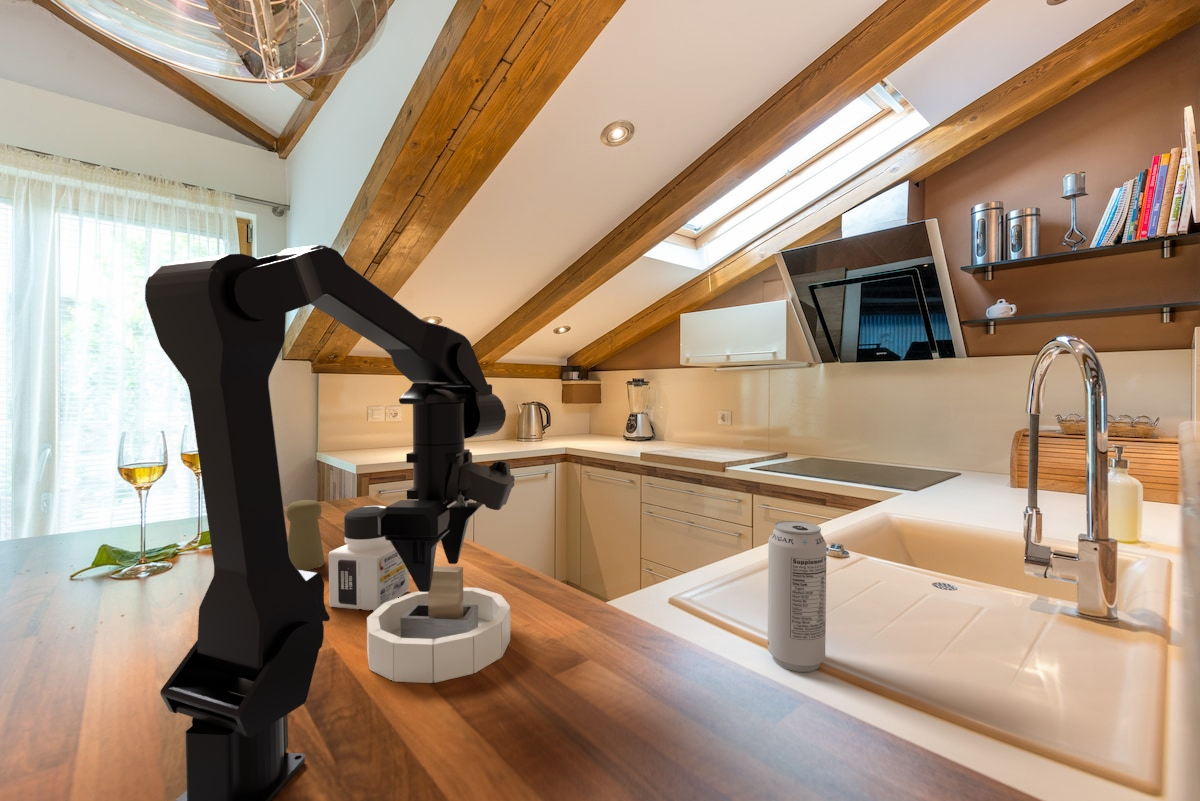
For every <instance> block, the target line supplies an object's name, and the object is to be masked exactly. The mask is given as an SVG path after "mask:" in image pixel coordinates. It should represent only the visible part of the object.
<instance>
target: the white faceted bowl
mask: <svg viewBox="0 0 1200 801" xmlns="http://www.w3.org/2000/svg"><path fill="white" fill-rule="evenodd" d="M415 603H428V592H420V591H419V590H418V591H413V592H409V593H407V594H403V595H401V596H400V597H399V598H396V599H393V600H391V601H388V602H385V603H383V604H382V605H381V606H380V607H379V608H377V609H376V610H375V611H372V613H371V614H369V615H368V616H367V617H366V648H367V649H366V653H367V662H368V668H369V671H371V672H373V673H375V674H377V675H379V676H381V677H383V678H386V679H387V680H390V681H391V680H392V682H394V683H395V682H396V683H397V682H398V683H421V684H422V683H424V684H433V683H440V682H444V681H448V680H452V679H457V678H461V677H466V676H469V675H473V674H476V673H478V672H479V671H481V670H483V669H484V668H486V667H488V666H489V665H491V664H492V663H494V662H496V661H499V659H501V658H502V657H503V656H504V655H505V652H506V649H507V647H508V645H509V644H510V642H511V605H510V604H509V603H508V602H507V601H506V599H505V598H504V597H503V595H502V594H500V593H497V592H493V591H489V590H487V589H484V588H480V587H467V586H463V605H478V628H476V629H474V630H472V631H470V632H467V633H462V634H457V635H451V636H446V637H441V638H436V639H421V638H401V622H400V618H401V617H402V616H403V615H404V614H405V613H406V612H407V611H408V610H409V609H410V608H411V607H412V606H413V605H414V604H415Z"/></svg>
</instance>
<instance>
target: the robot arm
mask: <svg viewBox="0 0 1200 801" xmlns="http://www.w3.org/2000/svg"><path fill="white" fill-rule="evenodd" d="M144 294H145V295H144V300H145V301H144V302H145V304H146V308H147V311H148V313H149V314H148V315H149V317H150V319H151V322H152V325H153V329H154V331H155V334H156V336H157V337H156V338H157V340H158V343H159V345H160V347H161V349H162V350H163V352H164V353H165V355H167V357H168V359H169V360H170V361H171V363H172V364H173V366H174V367H175V368H176V370H177V372H179V374H180V375H181V376H182V378H183V379H184V380H185V382H186V384H187V388H188V390H189V400H190V405H191V406H190V407H191V411H192V412H191V413H192V420H193V425H194V434H195V440H196V448H197V455H198V461H199V467H200V475H201V476H200V478H201V481H202V489H203V490H202V492H203V496H204V498H203V499H204V505H205V511H206V519H207V525H208V532H209V540H210V546H211V552H212V553H211V554H212V560H213V577H212V579H211V581H210V584H209V586H208V587H207V590H206V592H205V594H204V596H203V599H202V601H201V603H200V605H199V608H198V620H197V622H198V624H197V640H196V641H195V643H194V644H193V645H192V646H191V648H190V649H189V651H188V652H187V654H186V655H185V656H184V658H183V659H182V660H181V662H179V664H178V666H177V667H176V668H175V670H174V671H173V673H172V674H171V675H170V677H169V678H168V679H167V681H166V682H165V684H164V685H163V686H162V687H161V689H160V691H159V692H160V696H161V698H162V700H163V702H164V703H165V705H166V707H167V710H168V711H169V712H170V713H173V714H177V713H179V714H182V715H185V716H187V717H191V718H192V719H191V726H190V727H189V728H188V729H186V730H185V763H186V764H185V765H186V766H185V767H186V768H185V769H186V774H185V775H186V790H185V791H184V792H183V793H182V794H181V795H179V796H178V797H177V799H175V800H174V801H272V800H273V799H274V797H275V796H276V795H277V794H278V793H279V792H280V791H281V790H282V788H283V787H284V786H285V785H286V784H287V783H288V782H289V780H290V779H291V778H293V776H294V775H295V774H296V772H297V771H298V770H299V769H300V768H301V767H302V766H303V765H304V763H305V762H306V754H305V753H302V752H300V753H299V752H288V748H289V731H288V730H289V728H288V727H289V724H288V722H289V720H288V714H290V713H292V712H293V711H295V710H296V709H298V708H299V707H301V706H303V705H305V703H306V702H307V699H308V695H309V691H310V687H311V684H312V679H313V676H314V672H315V668H316V664H317V660H318V656H319V652H320V649H321V648H322V647H323V643H324V638H325V636H324V634H325V627H324V626H325V625H324V622H329V621H330V619H331V617H330V615H329V613H328V612H327V608H326V604H325V582H324V579H323V576H322V574H321V572H320V573H319V572H315V571H312V570H308V571H305V570H299V569H297V568H296V567H295V565H294V564H293V562H292V561H291V558H290V555H289V548H288V532H287V526H286V517H285V509H284V501H283V493H282V484H281V476H280V475H281V474H280V466H279V460H278V457H279V456H278V450H277V443H276V442H277V441H276V435H275V426H274V418H273V409H272V402H271V394H270V393H271V392H270V382H269V381H270V376H271V373H272V371H273V368H274V366H275V365H276V361H277V360H278V358H279V355H280V353H281V351H282V349H283V346H284V344H285V341H286V324H287V323H286V321H287V318H286V317H287V313H289V312H292V311H294V310H298V309H300V308H304V307H306V306H308V305H312V306H313V307H314V308H316V309H317V310H319V311H321V312H322V313H324V314H326V315H327V316H329V317H330V318H333V319H334V320H336V321H338V323H340V324H342V325H344V326H345V327H346V328H349V329H350V330H351V331H353V332H355V333H357V334H358V335H360V336H361V337H363V338H365V339H366V340H368V341H369V342H371V343H373V344H375V345H376V346H378V347H379V348H381V349H383V350H384V351H385V352H386V353H387V354H388V355H390V359H391V362H392V364H393V366H394V367H395V368H396V370H398V371H399V373H401V374H402V375H403V376H405V378H406V379H408V381H409V382H412V384H411V386H410V388H409V389H408V390H406V391H405V392H403V394H402V395H401V396H400V397H399V399H398V403H399V404H401V405H412V452H407V453H406V455H405V456H406V463H407V464H412V465H413V466H412V467H413V468H412V471H413V472H412V473H413V475H412V476H413V479H412V480H413V487H411V488H409V489H406V499H400V500H398V501H396V502H394V503H392V504H390V505H387V506H385V507H386V508H385V509H384V510H383V511H382V512H381V513H380V514H379V515H378V534H379V535H381V536H385V539H386V540H388V541H390V542H391V543H392V545H393V546H394V548H395V549H396V551H397V553H398V554H399V556H400V557H401V559H402V561H403V562H404V564H405V566H406V568H407V570H408V571H409V576H411V579H412V581H413V582H414V584H415V586H416V589H418V591H420V592H428V591H429V590H430V588H431V582H432V576H433V569H434V566H435V559H436V550H437V545H438V543H439V542H441V544H442V548H443V551H444V555H445V557H446V560H447V562H448V564H450V565H451V564H452V565H456V564H458V563H459V560H460V555H461V551H462V548H463V544H464V540H465V536H466V532H467V529H468V525H469V521H470V518H471V517H472V516H473V515H474V514H475V513H476V512H477V511H479V510H480V508H481V507H482V506H483V505H484V506H485V508H486V509H490V510H494V511H500V510H501V509H502V507H504V505H506V504H507V502H508V500H509V496H510V494H511V492H512V488H514V487H515V481H516V480H515V475H511V466H510V465H511V464H510V463H508V462H506V461H503V460H500V459H498V460H496V461H494V462H493V463H492V464H491V465H490V466H489V467H488V465H487V464H482V465H481V464H478V463H475V462H473V453H472V452H471V451H470V450H471V449H469V448H468V449H467V448H465V440H467V439H472V438H477V437H479V438H480V437H485V436H491V435H495V434H496V433H498V432H499V431H500V430H501V429H502V428H503V426H504V424H505V421H506V419H507V418H506V416H507V411H506V409H505V406H504V403H503V402H502V400H501V399H500V398H499V397H498V396H497V395H496V394H494V393H493V385H492V384H490V383H489V384H488V382H487V380H486V376H485V375H484V373H483V370H482V368H481V365H480V363H479V360H478V358H477V355H476V354H475V351H474V348H473V347H472V346H473V345H472V344H471V342H470V341H469V340H470V339H468V338H467V337H466V336H465V335H464V334H462V333H460V332H458V331H456V330H454V329H452V328H450V327H447V326H444V325H439V324H437V323H436V324H435V323H432V322H429V321H426V320H424V319H422V318H419V317H418V316H416V315H415V314H414V313H412V311H410V310H408V309H407V308H406V307H405V306H403V305H402V304H401V303H399V302H398V301H397V300H395V298H393V297H392V296H390V295H389V294H388V293H386V292H385V291H384V290H382V289H381V288H379V287H378V286H377V285H376V284H375V283H373V282H372V281H371V280H369V279H368V278H366V277H365V275H363V274H362V273H360V272H358V271H357V270H356V269H354V268H353V267H351V266H350V265H349V264H348V263H346V261H345V258H344V257H343V256H342V255H341V253H340V252H339V251H338V250H336V249H334V248H332V247H329V246H326V245H322V244H321V245H319V244H318V245H316V244H315V245H309V246H299V247H291V248H285V249H283V250H281V251H280V252H278V253H274V254H271V255H266V256H262V257H257V258H256V257H254V256H252V255H249V254H244V253H232V254H222V255H213V256H206V257H197V258H190V259H189V258H188V259H181V260H172V261H171V262H169V263H168V262H167V263H165V264H163V265H161V266H160V267H158V269H156V271H155V272H154V273H153V274H152V275H150V276H149V277H148V278H147V281H146V284H145V288H144ZM473 501H474V502H473Z"/></svg>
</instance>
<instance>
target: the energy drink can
mask: <svg viewBox="0 0 1200 801" xmlns="http://www.w3.org/2000/svg"><path fill="white" fill-rule="evenodd" d="M821 531H822V528H821V527H820V526H819V525H817V524H815V523H812V522H807V521H800V520H783V521H777V522H775V523H774V529H773V530H772V533H771V534H770V536H769V537H768V544H767V545H768V548H767V551H768V554H767V555H768V557H767V559H768V560H767V561H768V564H767V565H768V566H767V569H768V570H767V577H768V578H767V651H768V653H769V654H770V655H771V656H772V657H771V658H772V660H773V661H774V663H775V664H776V665H778V666H780V667H781V668H783V669H786V670H790V671H792V672H796V673H797V672H799V673H809V672H814V671H816V670H817V669H818V668H820V666H821V664H822V662H824V661H825V659H826V624H827V622H826V621H827V617H826V616H827V612H826V611H827V610H826V609H827V549H828V548H827V545H828V544H827V542H826V540H825V539H824V536H823V535H822V533H821Z"/></svg>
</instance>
